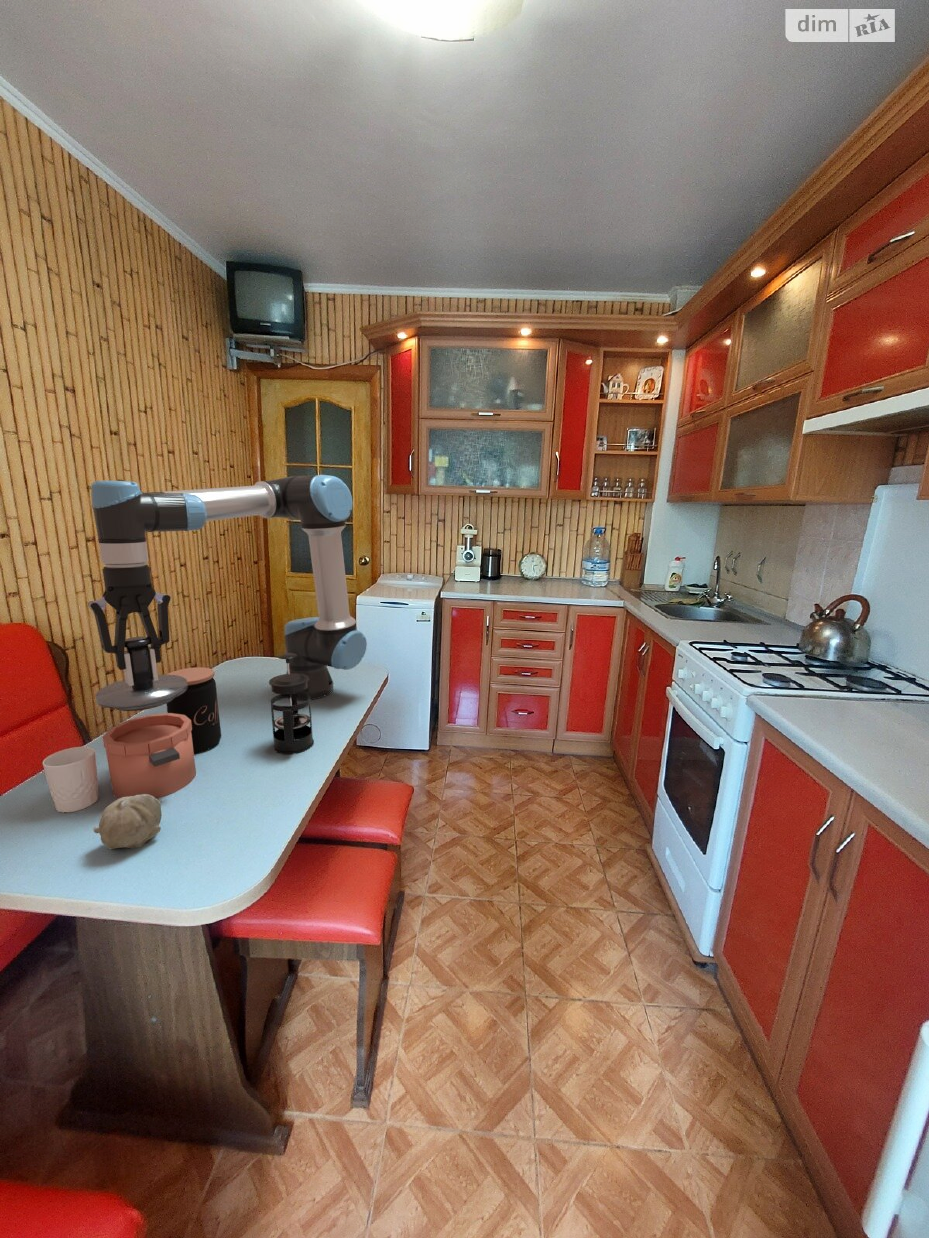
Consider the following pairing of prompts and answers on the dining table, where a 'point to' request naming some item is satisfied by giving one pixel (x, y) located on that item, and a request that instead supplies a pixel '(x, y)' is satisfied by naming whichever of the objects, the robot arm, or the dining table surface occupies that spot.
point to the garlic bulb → (130, 821)
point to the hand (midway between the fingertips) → (142, 681)
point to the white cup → (72, 778)
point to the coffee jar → (199, 707)
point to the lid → (141, 683)
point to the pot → (150, 755)
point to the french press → (291, 712)
